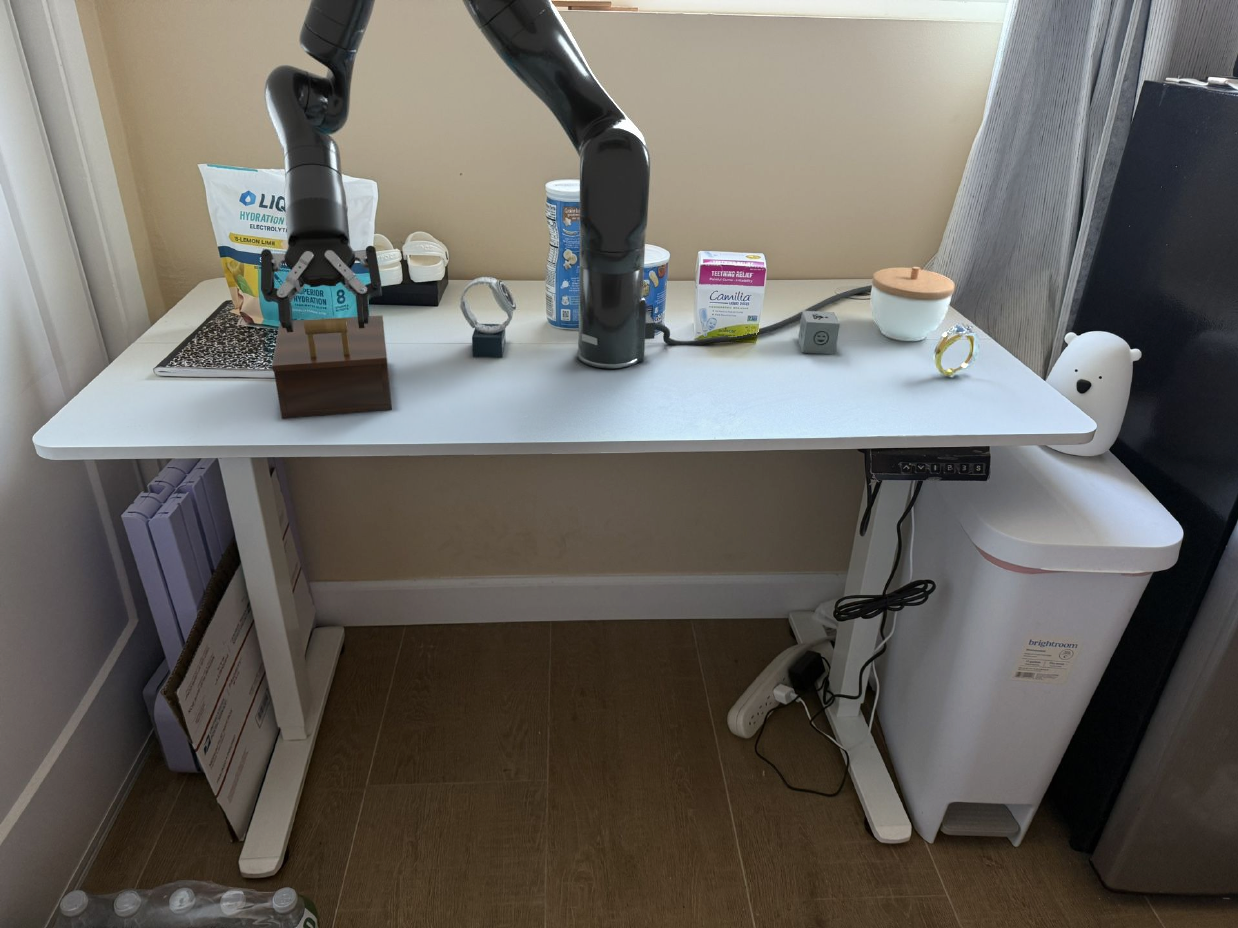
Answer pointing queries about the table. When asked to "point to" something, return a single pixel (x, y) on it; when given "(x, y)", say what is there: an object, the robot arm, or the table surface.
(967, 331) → the ring
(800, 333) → the dice cube
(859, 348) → the table surface
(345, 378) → the case
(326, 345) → the lid
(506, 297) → the watch
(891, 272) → the lidded bowl
